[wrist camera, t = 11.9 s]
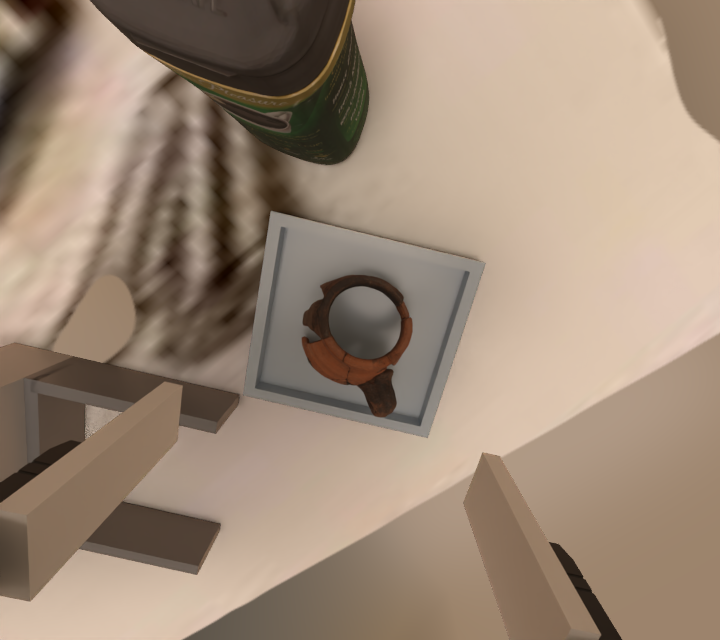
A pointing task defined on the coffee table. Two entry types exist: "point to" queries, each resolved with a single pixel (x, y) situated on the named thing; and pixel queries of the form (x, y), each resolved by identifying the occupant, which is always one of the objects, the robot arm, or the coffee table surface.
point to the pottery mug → (350, 368)
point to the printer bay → (67, 422)
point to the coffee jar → (262, 65)
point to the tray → (357, 319)
